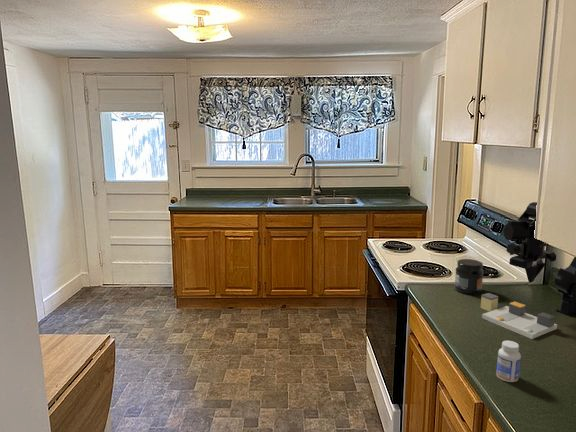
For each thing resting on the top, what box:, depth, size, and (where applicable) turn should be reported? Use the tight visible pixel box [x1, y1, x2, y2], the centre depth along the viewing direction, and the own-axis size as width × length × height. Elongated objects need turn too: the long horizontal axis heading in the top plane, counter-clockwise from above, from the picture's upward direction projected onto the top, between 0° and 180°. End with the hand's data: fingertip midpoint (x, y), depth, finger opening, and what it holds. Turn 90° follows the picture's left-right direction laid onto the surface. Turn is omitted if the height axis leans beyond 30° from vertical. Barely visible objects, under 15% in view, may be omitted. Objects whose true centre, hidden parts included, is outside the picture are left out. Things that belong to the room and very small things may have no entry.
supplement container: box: [453, 258, 484, 295], centre depth 178 cm, size 10×10×12 cm
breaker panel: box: [481, 305, 558, 340], centre depth 149 cm, size 14×18×2 cm
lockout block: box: [480, 292, 499, 312], centre depth 161 cm, size 4×4×5 cm
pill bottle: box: [496, 340, 522, 383], centre depth 116 cm, size 5×5×10 cm
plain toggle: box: [536, 311, 556, 327], centre depth 144 cm, size 3×4×3 cm
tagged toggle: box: [508, 301, 527, 316], centre depth 152 cm, size 3×4×3 cm
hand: (530, 282), depth 154 cm, fingers closed
